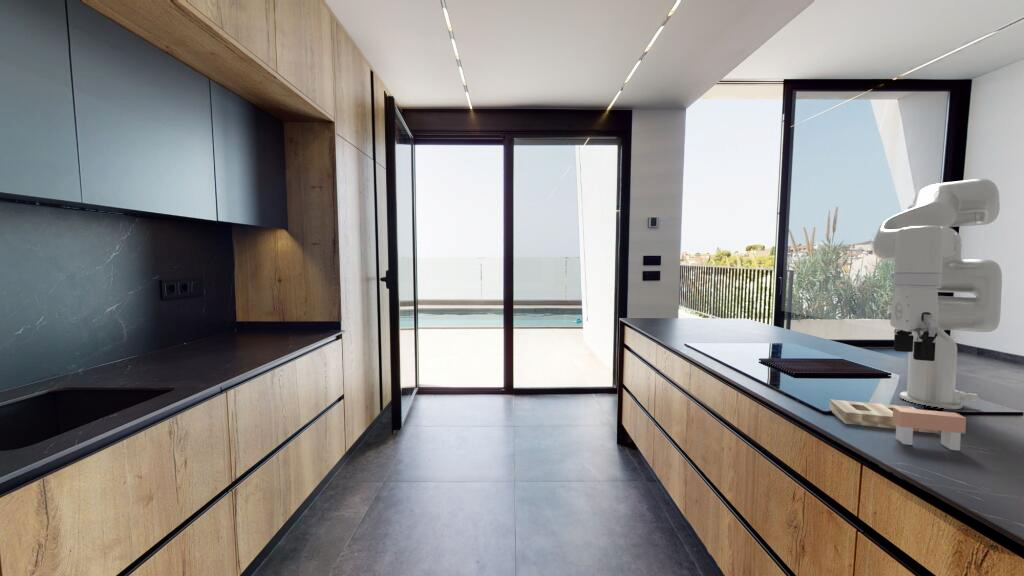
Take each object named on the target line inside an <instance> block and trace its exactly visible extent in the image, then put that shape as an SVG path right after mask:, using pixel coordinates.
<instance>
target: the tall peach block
mask: <svg viewBox="0 0 1024 576" xmlns="http://www.w3.org/2000/svg"><path fill="white" fill-rule="evenodd" d="M893 422H894V423H895V424H896V429H895V440H897V441H898V442H900V443H901V444H902V445H906V446H907V445H908V446H909V445H911V446H913V438H914V437H913V436H914V431H913V428H918V429H928V430H937V431H938V432H939V431H940V432H941V433H940V444H941V445H942V446H944V447H946V448H947V449H948V450H951V451H959V452H960V450H961V437H962V436H961V435H962V434H966V429H967V428H966V424H967V423H966V422H967V417H965V416H964V415H961V414H960V413H957V412H950V411H938V410H929V409H917V408H916V409H909V408H898V407H893Z"/></svg>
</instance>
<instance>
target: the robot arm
mask: <svg viewBox="0 0 1024 576" xmlns="http://www.w3.org/2000/svg"><path fill="white" fill-rule="evenodd" d="M999 214H1000V192H999V189H998V186H997V185H996V184H995V182H993V180H990V179H987V178H975V179H974V178H973V179H965V180H957V181H947V182H941V183H940V182H939V183H934V184H930V185H928V186H925V187H924V188H921V189H920V190H919V191H918V192H917V193H916V194H915V196H914V199H913V202H912V203H911V204H910V205H909V206H908V207H907V209H906V210H904V211H903V212H900V213H897V214H895V215H893V216H891V217H889V218H886V220H884V221H883V222H882V223H880V226H879V228H878V230H877V232H876V235H875V236H874V240H873V252H874V254H875V255H876V257H878V258H880V259H882V260H886V261H887V260H890V261H891V260H894V261H893V262H894V263H893V278H892V279H893V284H892V287H893V288H894V292H893V296H892V302H891V303H892V304H891V311H890V326H892V327H893V328H894V330H893V332H894V340H893V351H895V352H903V353H908V363H907V364H908V365H907V366H908V367H907V383H906V384H907V387H906V391H902V392H899V397H900V399H902V400H903V399H904V401H905V400H906V401H905V402H908V401H909V403H911V402H913V403H912V404H914V403H916V404H915V405H918V404H921V405H920V406H922V405H926V406H925V407H927V406H931V407H930V408H933V407H938V408H937V409H940V408H944V409H943V410H960V409H962V408H963V406H964V405H963V402H962V401H964V400H967V401H972V402H973V401H974V402H977V401H979V399H980V398H979V395H978V394H977V393H966V392H965V391H961V390H957V389H956V380H957V376H956V375H957V364H958V363H957V361H958V345H957V343H956V341H955V340H954V339H953V338H952V337H951V336H950V335H949V334H948V333H947V332H945V331H961V332H962V331H963V332H970V333H971V332H974V333H990V332H991V333H992V332H994V331H995V330H996V329H998V328H999V324H1000V322H1001V313H1002V312H1001V309H1002V306H1001V305H1002V291H1003V290H1002V288H1003V275H1002V269H1001V266H1000V265H999V264H998V263H997V262H996V261H994V260H991V259H983V258H980V259H979V258H975V259H973V258H972V259H971V258H970V259H969V258H968V259H963V258H961V257H962V255H961V254H962V238H961V234H960V233H958V232H957V231H956V230H955V229H953V228H954V227H971V226H972V227H973V226H984V225H989V224H991V223H993V222H995V220H996V219H997V218H998V217H999ZM939 293H959V294H960V293H961V294H963V293H964V294H970V295H971V294H972V295H973V296H975V297H972V296H971V297H970V296H969V297H968V296H967V297H966V296H952V295H951V296H947V295H946V296H945V295H939Z"/></svg>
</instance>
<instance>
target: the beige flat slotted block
mask: <svg viewBox="0 0 1024 576" xmlns="http://www.w3.org/2000/svg"><path fill="white" fill-rule="evenodd" d="M828 402H829V403H828V404H829V405H828V410H829V409H830V410H831V411H832V412H831V411H830V410H829V411H830V412H831V413H832V414H834V416H835V417H837V418H838V419H839V420H840V421H842V423H844V424H848V425H854V426H855V425H858V426H866V427H875V428H884V429H885V428H886V429H893V430H896V424H895V423H894V422H893V407H898V408H909V409H917V408H915V407H914V406H906V405H896V404H885V403H876V402H875V403H873V402H863V401H854V400H853V401H852V400H842V399H841V400H839V399H832V398H830V399H828ZM913 432H920V433H928V434H930V433H931V434H938V433H939V431H937V430H928V429H918V428H913Z"/></svg>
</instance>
